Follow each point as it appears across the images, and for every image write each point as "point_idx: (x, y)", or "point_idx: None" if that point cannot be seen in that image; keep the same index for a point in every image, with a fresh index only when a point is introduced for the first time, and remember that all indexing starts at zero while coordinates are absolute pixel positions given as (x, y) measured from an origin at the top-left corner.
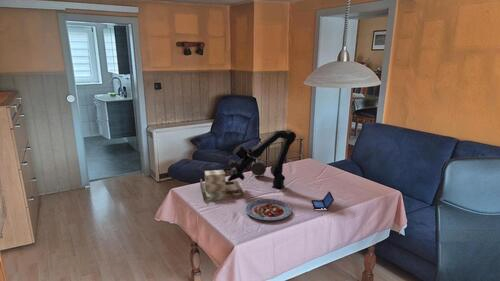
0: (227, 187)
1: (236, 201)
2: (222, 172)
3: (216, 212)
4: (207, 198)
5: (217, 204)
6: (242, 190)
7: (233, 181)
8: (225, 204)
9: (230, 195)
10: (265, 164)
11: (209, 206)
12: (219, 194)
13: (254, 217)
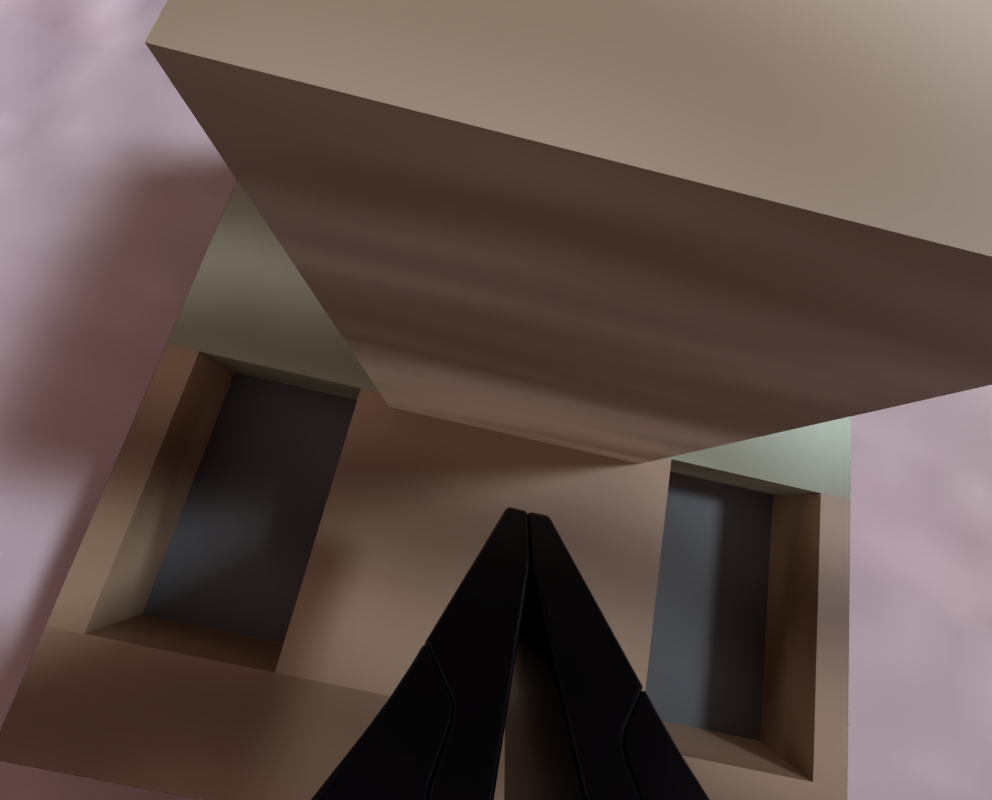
0: (517, 506)
1: (6, 480)
2: (620, 12)
3: None
4: None
5: (108, 174)
6: (184, 790)
7: (806, 788)
8: (27, 271)
9: (146, 420)
10: None
11: (118, 69)
12: (266, 237)
13: None
